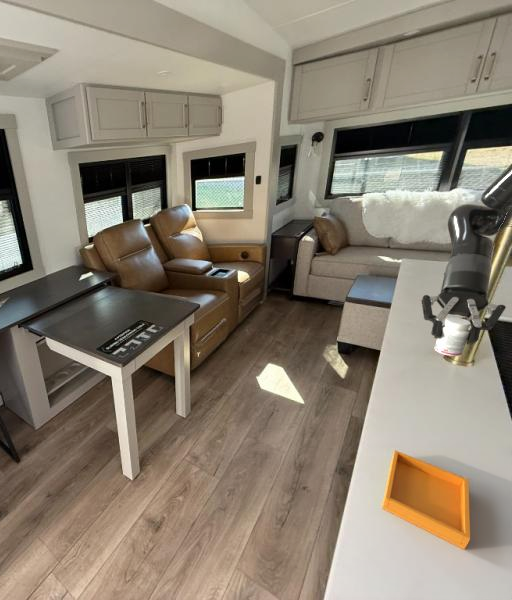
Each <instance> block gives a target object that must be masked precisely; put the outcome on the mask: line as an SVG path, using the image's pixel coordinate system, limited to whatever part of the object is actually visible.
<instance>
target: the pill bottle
mask: <svg viewBox="0 0 512 600" xmlns="http://www.w3.org/2000/svg"><path fill="white" fill-rule="evenodd" d="M470 324H471V323H470V322H469V321H468V320H467V319H465V318H461V317H456V316H455V317H452V316H451V317H447V318H445V321H444V324H442V329H441V333H440V337H439V338H438V339H437V338H436V342H435V344H434V350H435V351H436V352H437V353H439V354H441V355H444V356H448V357H460V356H462V355H463V353H464V350H465V347H466V345H467V339H468V337H469V334H470V331H469V330H470V329H471V327H470Z"/></svg>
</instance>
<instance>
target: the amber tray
mask: <svg viewBox="0 0 512 600" xmlns="http://www.w3.org/2000/svg"><path fill="white" fill-rule="evenodd" d="M381 509H383V510H385V511H386V512H389V513H390V514H392V515H394V516H397V517H398V518H400V519H403V521H404V520H405V521H406V522H408V523H410V524H413V525H414V526H416V527H418V528H420V529H422V530H424V531H425V532H428V533H430V534H432V535H434V536H436V537H438V538H440V539H441V540H444V541H446V542H448V543H450V544H452V545H454V546H456V547H457V548H460V549H462V550H463V551H464V550H466V548H467V546H468V544H469V543H470V541H471V517H470V514H471V513H470V481H469V478H466V477H463V476H461V475H458V474H456V473H454V472H451V471H448V470H447V469H443V468H441V467H438V466H436V465H433V464H432V463H428V462H426V461H423V460H421V459H418V458H416V457H413V456H411V455H408V454H406V453H403V452H401V451H398V450H394V452H393V453H392V457H391V460H390V465H389V470H388V475H387V481H386V485H385V489H384V495H383V500H382V504H381Z"/></svg>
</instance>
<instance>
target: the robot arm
mask: <svg viewBox="0 0 512 600" xmlns="http://www.w3.org/2000/svg"><path fill="white" fill-rule="evenodd" d="M480 201H481V203H482V204H483V205H481V204H475V203H474V204H472V203H465V204H461V205H459V206H457V207H456V208H455V209H453V210H452V211H451V213H450V214H449V217H448V219H447V229H448V234H449V238H450V243H451V252H450V255H449V260H448V262H447V265H446V267H445V270H444V273H443V280H442V284H441V289H440V293H439V294H437V296H430V295H429V294H424V295H423V296H422V298H421V307H422V313H423V320H425V321H429V322H431V323H432V327H431V331H430V333H431V336H433V339H436V340H437V339H438V338H439V337H440V333H441V329H442V326H443V325H444V322H443V321H444V320H445V319H446V317H447V316H448V315H451V316H455V315H456V316H460V317H465V318H466V320H467V321H469V322H470V323H471V324H470V328H469V329H468V330H469V331H470V334H469V337H468V339H467V342H466V345H469V346H472V345H473V344H476V343H477V342H478V341H479V339H480V333H481V331H490V330H492V328H494V326H495V325H496V324H497V322H498V321H499V319H500V317H501V316H502V314H503V313H504V311H505V310H506V308H507V306H506V305H505V304H494V303H490V302H489V300H488V298H487V297H488V296H487V295H488V291H489V285H490V280H491V275H492V269H493V268H492V261H493V255H494V250H495V245H494V246H493V243H494V244H495V242H494V240H493V239H491V238H490V237H492V236H495V235H498V234H497V232H498V229H499V227H500V225H501V224H502V223H503V224H502V225H501V227H502V229H501V227H500V229H501V230H499V231H502V230H503V229H504V228H505V226H506V224H507V223H508V222H510V221H511V222H512V209H511V208H512V207H510V206H512V163H511V164H510V165H509V166H508V167H506V169H505V170H504V171H503V172H501V174H500V175H499V176H498V177H497V178H496V179H495V180H494V181H492V183H491V184H490V185H489V186H488V187H487V188H486V189H485V190H484V191H483V192H482V195H481V197H480ZM509 208H510V209H509ZM507 212H508V213H507ZM506 213H507V215H506ZM505 216H506V218H507V219H506V218H505ZM504 218H505V220H504ZM503 221H504V222H503ZM511 222H510V223H511ZM498 233H499V232H498ZM499 234H500V233H499ZM492 247H493V249H492ZM491 250H492V252H491ZM490 253H491V255H490ZM489 256H490V258H489ZM488 258H489V260H488ZM435 302H436V303H437V304H438V305H439V306H440V308H441V309H442V310H440V312H439V313H438V314H437V315H435V314H433V308H432V306H434V304H435ZM484 309H487V313H488V314H490V316H489V317H488V319H487V320H486V322H482V321H481V319H480V317H481V316H480V312H481V311H482V310H484Z"/></svg>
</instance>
